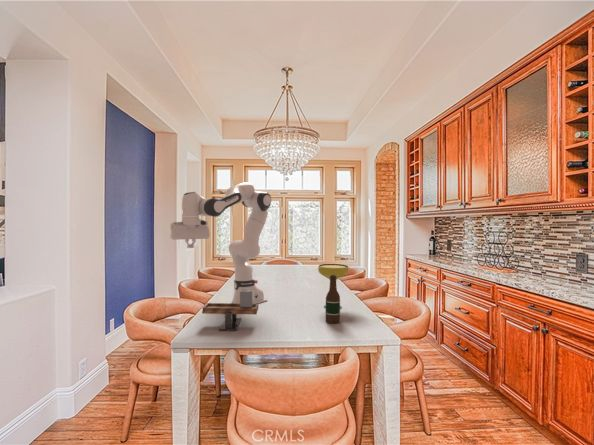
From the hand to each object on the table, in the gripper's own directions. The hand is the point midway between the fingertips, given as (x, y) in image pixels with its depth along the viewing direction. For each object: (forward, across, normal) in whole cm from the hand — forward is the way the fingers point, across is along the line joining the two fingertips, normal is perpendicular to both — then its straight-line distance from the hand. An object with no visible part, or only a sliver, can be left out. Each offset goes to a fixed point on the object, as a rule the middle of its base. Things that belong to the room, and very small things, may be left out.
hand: (190, 247), depth 180 cm
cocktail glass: (+37, +77, -29) cm, 90 cm away
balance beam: (+30, +12, -26) cm, 42 cm away
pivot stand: (+37, +12, -26) cm, 47 cm away
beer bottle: (+37, +58, -50) cm, 85 cm away
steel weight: (+29, +18, -31) cm, 46 cm away
